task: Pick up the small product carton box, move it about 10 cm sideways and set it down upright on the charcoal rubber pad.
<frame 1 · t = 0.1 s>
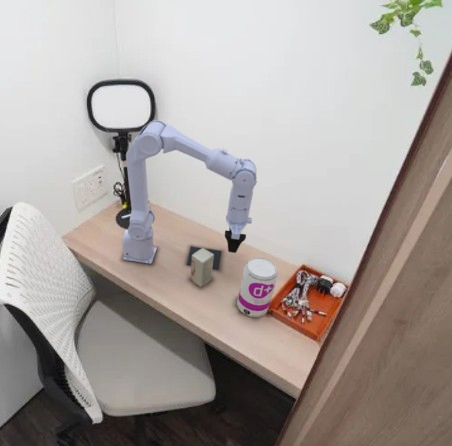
hand: (232, 243, 99), 10 cm above the table, tool pointing down, fingers open, 7 cm apart
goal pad: (204, 257, 109), on the table
supplement can: (251, 307, 93), on the table
product carton box: (200, 280, 101), on the table
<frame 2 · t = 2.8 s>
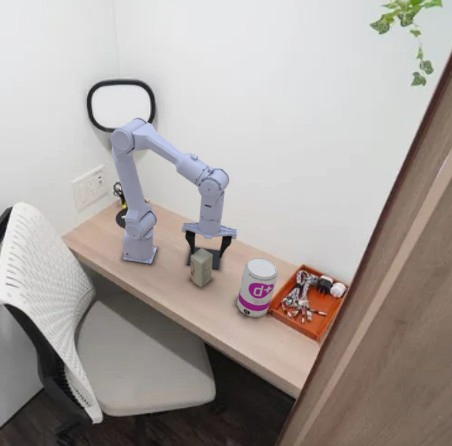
hand: (206, 253, 96), 10 cm above the table, tool pointing down, fingers open, 7 cm apart
product carton box: (200, 279, 101), on the table, touching gripper
everything else where it was.
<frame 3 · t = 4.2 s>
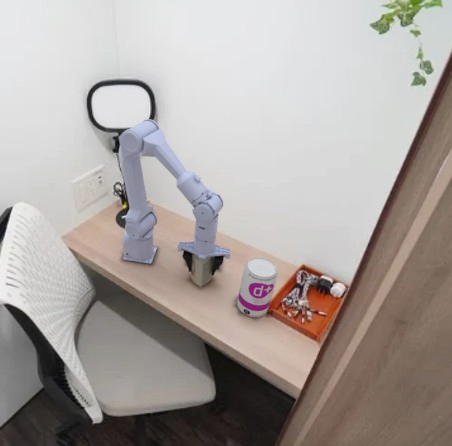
hand: (201, 271, 99), 3 cm above the table, tool pointing down, fingers closed on product carton box, 6 cm apart
product carton box: (200, 280, 101), on the table, touching gripper
everything else where it was.
when the fingers open (4 cm above the table, at t = 8.5 s): product carton box stays where it is, resting on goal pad.
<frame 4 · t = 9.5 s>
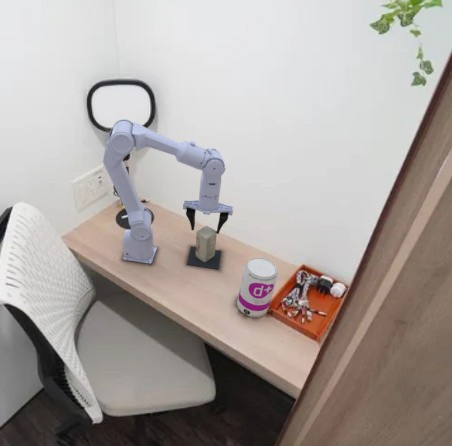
hand: (205, 230, 104), 10 cm above the table, tool pointing down, fingers open, 7 cm apart
product carton box: (204, 256, 109), resting on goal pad, touching gripper
everything else where it was.
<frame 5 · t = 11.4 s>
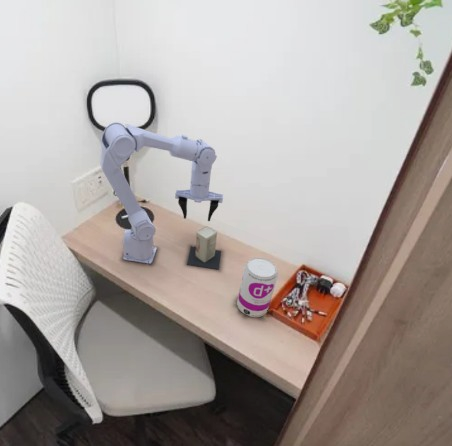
hand: (197, 218, 109), 10 cm above the table, tool pointing down, fingers open, 7 cm apart
product carton box: (204, 256, 109), resting on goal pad
everything else where it was.
at the end: product carton box inside the target area (0.2 cm from its centre), resting on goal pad; product carton box tilted 0°; the gripper is holding nothing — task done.
